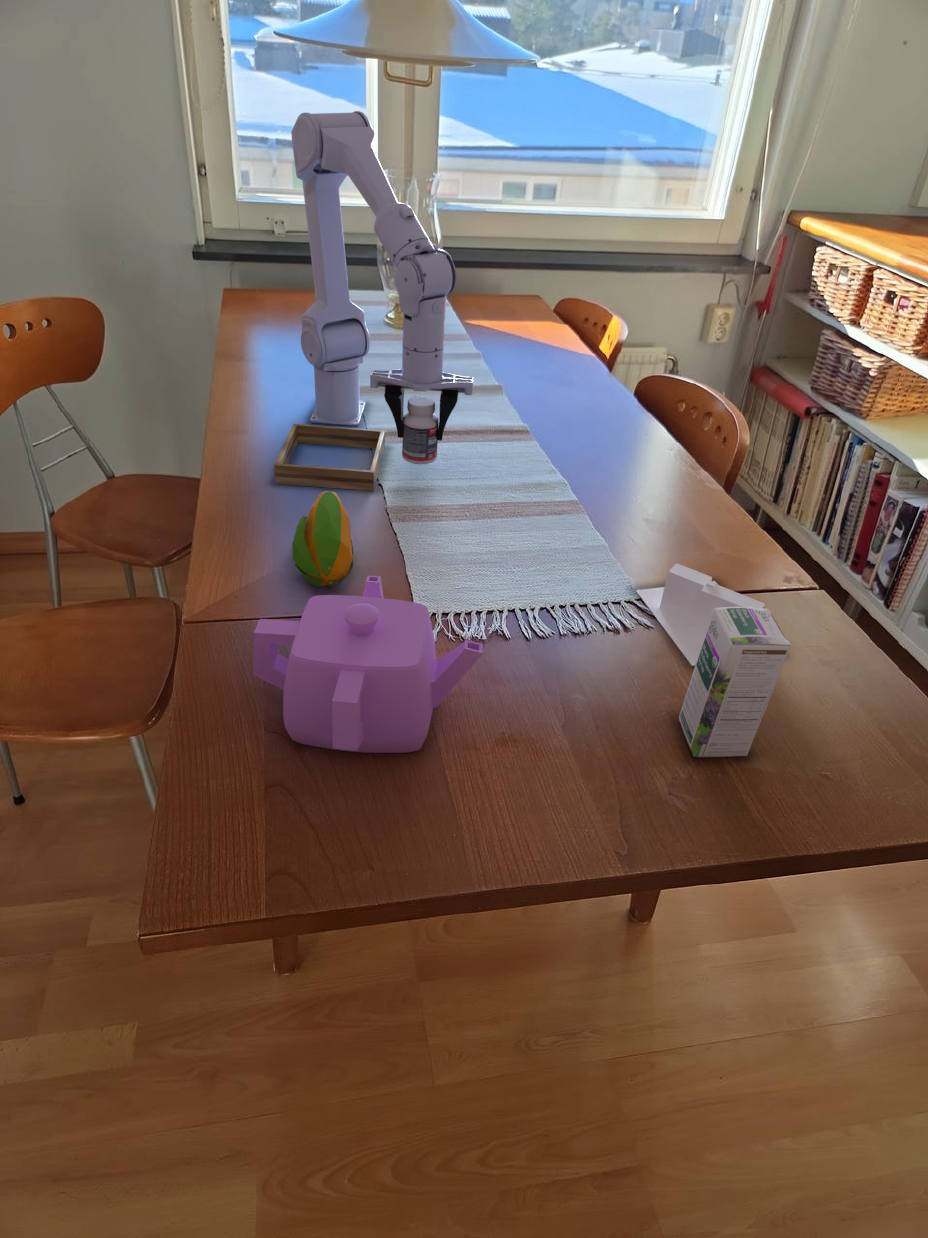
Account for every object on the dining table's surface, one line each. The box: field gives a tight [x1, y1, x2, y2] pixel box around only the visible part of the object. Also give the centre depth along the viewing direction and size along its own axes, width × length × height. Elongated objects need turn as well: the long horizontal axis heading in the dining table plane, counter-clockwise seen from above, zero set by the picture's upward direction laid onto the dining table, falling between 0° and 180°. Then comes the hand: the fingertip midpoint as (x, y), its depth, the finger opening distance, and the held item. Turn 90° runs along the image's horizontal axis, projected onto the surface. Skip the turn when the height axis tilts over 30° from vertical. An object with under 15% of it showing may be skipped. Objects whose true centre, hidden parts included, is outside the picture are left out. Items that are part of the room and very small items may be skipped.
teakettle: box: [252, 574, 484, 754], centre depth 82 cm, size 17×17×12 cm
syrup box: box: [678, 607, 792, 758], centre depth 81 cm, size 6×6×14 cm
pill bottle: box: [401, 395, 439, 465], centre depth 124 cm, size 5×5×9 cm
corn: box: [292, 490, 354, 588], centre depth 105 cm, size 7×8×20 cm
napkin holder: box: [635, 562, 767, 667], centre depth 99 cm, size 15×11×6 cm
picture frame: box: [273, 423, 386, 492], centre depth 126 cm, size 14×14×3 cm
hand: (420, 436), depth 125 cm, fingers closed on pill bottle, 5 cm apart
